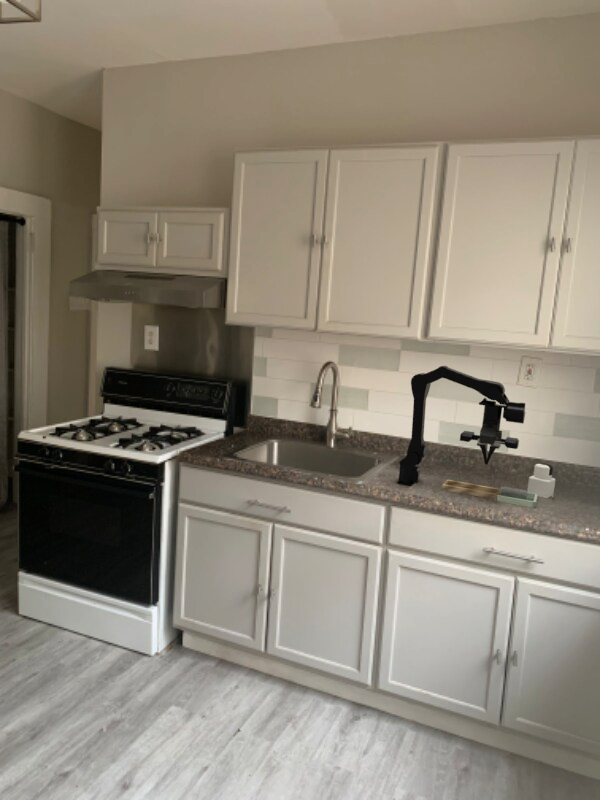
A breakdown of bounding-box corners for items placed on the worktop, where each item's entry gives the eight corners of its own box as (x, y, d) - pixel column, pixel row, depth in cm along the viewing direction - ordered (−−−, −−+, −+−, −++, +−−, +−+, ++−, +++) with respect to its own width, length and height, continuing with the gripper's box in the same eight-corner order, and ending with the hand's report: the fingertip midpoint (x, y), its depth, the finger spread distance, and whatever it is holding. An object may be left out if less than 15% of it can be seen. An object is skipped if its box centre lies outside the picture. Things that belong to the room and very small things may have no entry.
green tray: (496, 504, 209) (497, 495, 208) (500, 495, 220) (501, 487, 219) (534, 511, 204) (535, 502, 204) (536, 502, 215) (537, 493, 215)
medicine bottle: (532, 493, 227) (537, 460, 225) (553, 498, 223) (557, 465, 221) (525, 496, 222) (530, 463, 220) (546, 501, 217) (551, 467, 215)
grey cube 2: (500, 500, 212) (501, 488, 211) (501, 497, 216) (503, 486, 215) (512, 502, 210) (514, 491, 210) (513, 499, 214) (515, 488, 213)
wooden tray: (441, 492, 217) (442, 484, 217) (446, 487, 225) (447, 479, 225) (495, 502, 210) (496, 494, 210) (498, 496, 218) (499, 488, 218)
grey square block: (512, 502, 211) (514, 491, 210) (513, 499, 214) (515, 488, 214) (525, 504, 209) (526, 493, 208) (526, 502, 213) (527, 490, 212)
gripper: (459, 418, 209) (454, 464, 211) (518, 426, 202) (512, 473, 204) (465, 414, 219) (460, 458, 221) (521, 422, 212) (515, 467, 214)
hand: (486, 464), depth 215 cm, fingers closed
